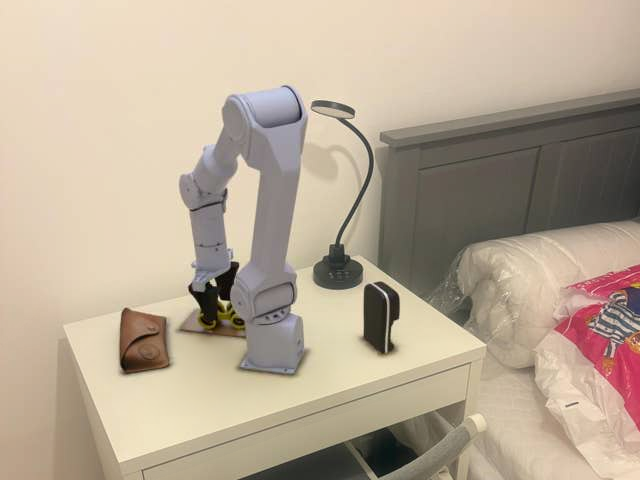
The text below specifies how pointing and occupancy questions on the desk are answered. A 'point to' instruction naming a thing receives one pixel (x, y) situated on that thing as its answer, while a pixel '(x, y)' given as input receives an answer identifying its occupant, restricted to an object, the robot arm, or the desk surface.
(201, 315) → the opera glasses
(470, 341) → the desk surface
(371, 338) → the battery charger
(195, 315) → the copper plate
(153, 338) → the sunglasses case
